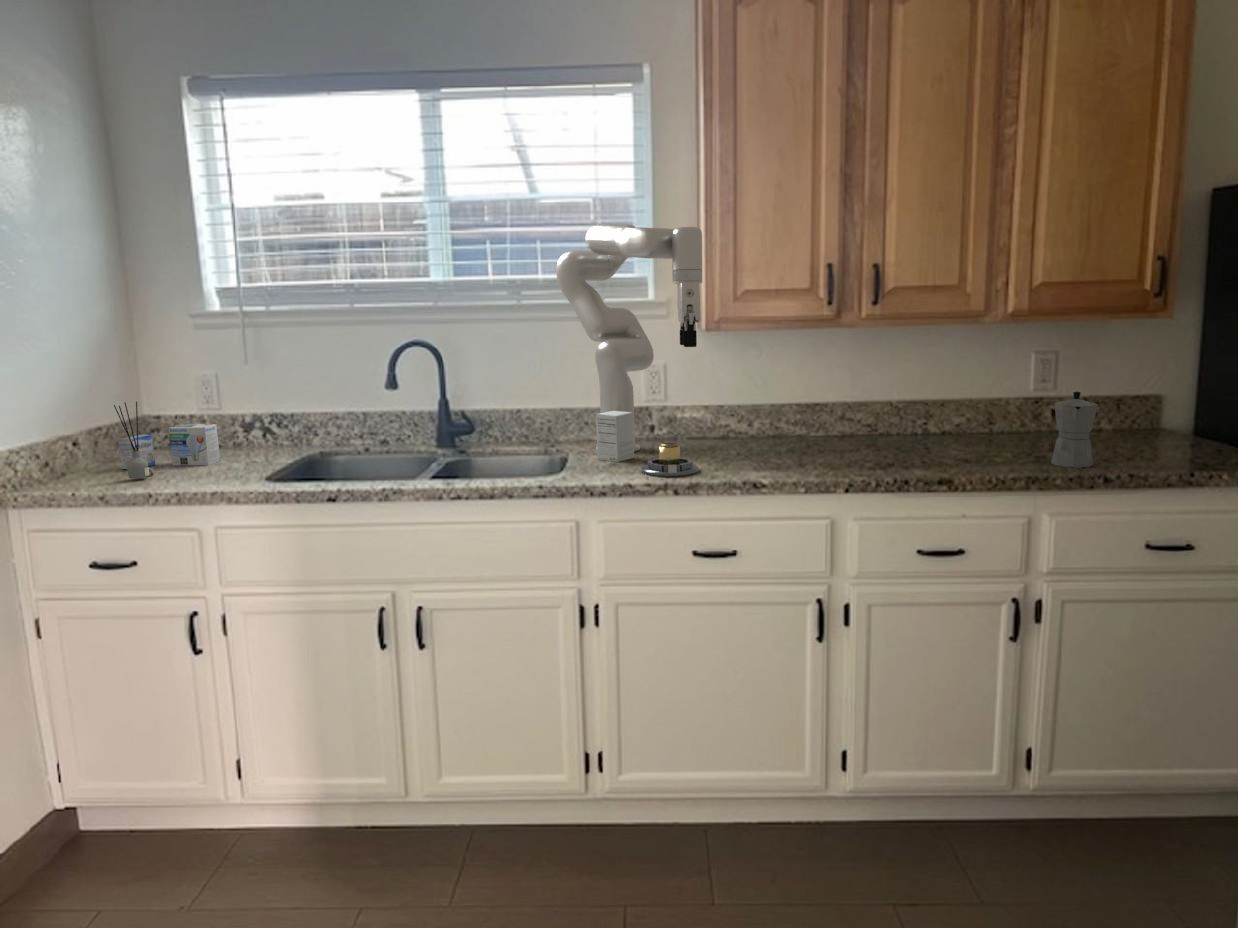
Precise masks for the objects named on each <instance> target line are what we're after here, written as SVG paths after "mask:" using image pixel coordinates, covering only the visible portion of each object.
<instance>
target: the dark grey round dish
mask: <svg viewBox="0 0 1238 928" xmlns="http://www.w3.org/2000/svg"><path fill="white" fill-rule="evenodd" d="M641 473H642V474H643V473H644V474H643V475H645V474H646V475H645V476H648V475H650V476H649V477H654V476H658V477H657V478H681V477H689V476H693V475H697V474H698V473H699V466H698V465H696V464H693V460H692V459H690V458H684V457H680V464H678V465H661V464H659V457H657V458H653V459H652V458H651V459H648V460H647V465H644V466H642V467H641Z"/></svg>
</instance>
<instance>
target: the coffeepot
mask: <svg viewBox="0 0 1238 928" xmlns="http://www.w3.org/2000/svg"><path fill="white" fill-rule="evenodd" d="M1072 394H1073V398H1071V399H1067V400H1063V401H1058V402H1055V403H1054V411H1055V412H1054V413H1055V422H1056V423H1055V424H1056V430H1057V431H1058V437H1057V439H1056V441H1055V446H1054V449H1053V453H1052V457H1051V460H1050V463H1051V464H1052V465H1053V464H1054V466H1056V467H1061V466H1062V467H1061V468H1069V467H1073V468H1074V469H1083V468H1082V467H1086V468H1090V466H1091V467H1092V466H1093V465H1094V461H1093V459H1094V458H1093V450H1092V442H1091V439H1090V433H1091V432H1092V431H1093V427H1094V423H1095V418H1096V416H1097V415H1096V414H1097V410H1098V407H1099V404H1098V403H1094V402H1090V401H1088V400H1083V399H1080V397H1081V394H1082V393H1081V392H1080V391H1073V392H1072ZM1073 468H1072V469H1073Z"/></svg>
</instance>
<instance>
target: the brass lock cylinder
mask: <svg viewBox="0 0 1238 928" xmlns="http://www.w3.org/2000/svg"><path fill="white" fill-rule="evenodd" d="M658 458H659V464H661V465H678V464H680V458H681V446H680V445H679V443H678V442H676V441H663V442H661V443H660V444H659V445H658Z"/></svg>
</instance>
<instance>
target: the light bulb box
mask: <svg viewBox="0 0 1238 928" xmlns="http://www.w3.org/2000/svg"><path fill="white" fill-rule="evenodd" d="M168 436H169V443H170V444H169V446H170V455H171V464H172V466H174V467H175V466H177V467H178V466H205V467H206V466H211V465H213V464H216V463H219V462H221V457H220V446H219V436H218V428H217V423H209V424H204V423H203V424H202V423H200V424H199V423H197V424H191V423H190V424H178V425H174V426H172V427H168Z"/></svg>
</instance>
